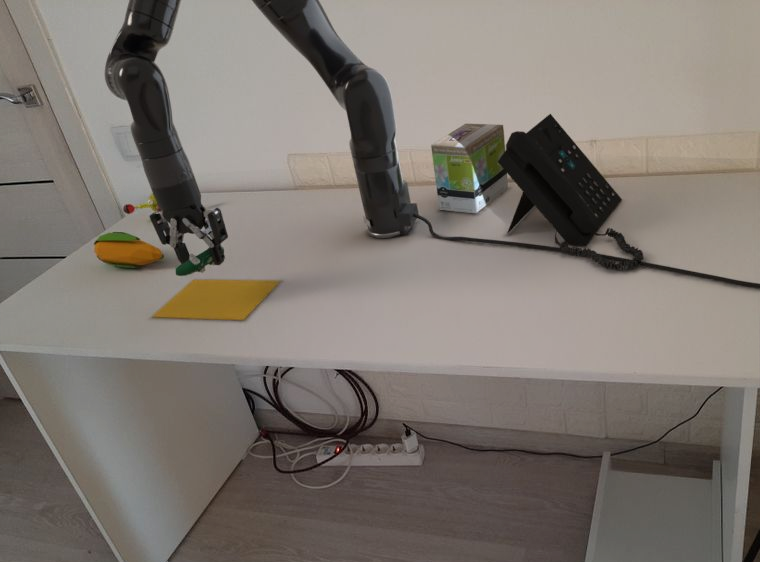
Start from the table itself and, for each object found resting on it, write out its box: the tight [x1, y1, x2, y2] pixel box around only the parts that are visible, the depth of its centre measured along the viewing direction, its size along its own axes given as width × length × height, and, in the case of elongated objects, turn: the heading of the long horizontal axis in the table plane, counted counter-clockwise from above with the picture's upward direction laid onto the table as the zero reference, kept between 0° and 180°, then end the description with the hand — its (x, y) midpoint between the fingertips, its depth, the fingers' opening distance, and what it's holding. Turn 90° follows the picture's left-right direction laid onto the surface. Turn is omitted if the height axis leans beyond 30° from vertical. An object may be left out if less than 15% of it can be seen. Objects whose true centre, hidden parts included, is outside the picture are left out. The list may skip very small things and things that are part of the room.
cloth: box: [152, 279, 280, 321], centre depth 132 cm, size 20×14×1 cm
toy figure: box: [122, 193, 163, 215], centre depth 173 cm, size 18×6×7 cm, turn 104°
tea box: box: [430, 123, 509, 214], centre depth 150 cm, size 15×10×15 cm, turn 148°
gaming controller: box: [175, 244, 225, 277], centre depth 127 cm, size 9×4×6 cm
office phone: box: [498, 113, 644, 271], centre depth 127 cm, size 29×28×20 cm
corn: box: [93, 231, 165, 269], centre depth 150 cm, size 7×8×20 cm
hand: (203, 263), depth 128 cm, fingers closed on gaming controller, 7 cm apart
